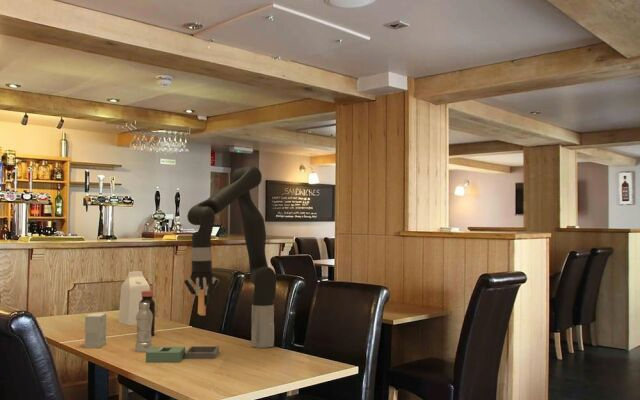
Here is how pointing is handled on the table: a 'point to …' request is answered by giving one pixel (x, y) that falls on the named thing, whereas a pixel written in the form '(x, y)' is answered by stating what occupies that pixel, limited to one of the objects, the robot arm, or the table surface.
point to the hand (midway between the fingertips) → (202, 305)
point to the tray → (190, 355)
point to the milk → (131, 297)
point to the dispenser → (165, 354)
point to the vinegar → (148, 298)
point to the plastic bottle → (144, 328)
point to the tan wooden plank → (201, 303)
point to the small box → (95, 330)
